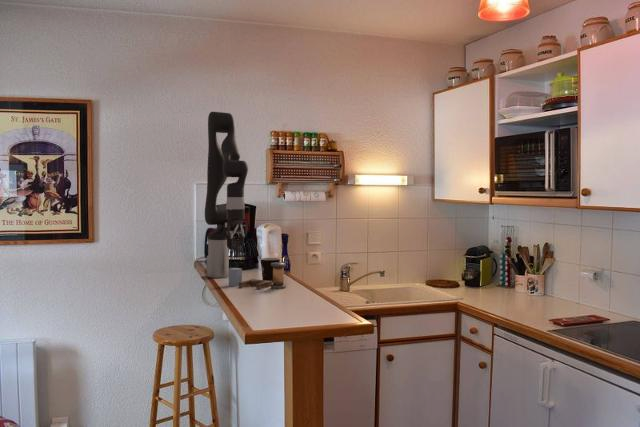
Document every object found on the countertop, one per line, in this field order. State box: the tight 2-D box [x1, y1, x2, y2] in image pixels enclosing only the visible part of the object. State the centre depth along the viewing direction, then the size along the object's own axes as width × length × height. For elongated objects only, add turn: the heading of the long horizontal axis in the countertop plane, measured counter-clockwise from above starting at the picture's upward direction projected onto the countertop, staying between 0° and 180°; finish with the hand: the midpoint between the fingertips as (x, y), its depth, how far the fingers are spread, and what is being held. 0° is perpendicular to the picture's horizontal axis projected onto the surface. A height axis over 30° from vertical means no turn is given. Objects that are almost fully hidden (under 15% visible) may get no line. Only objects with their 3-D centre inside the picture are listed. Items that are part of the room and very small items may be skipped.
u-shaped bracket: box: [238, 278, 273, 290], centre depth 222 cm, size 10×10×2 cm
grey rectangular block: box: [228, 267, 243, 287], centre depth 225 cm, size 4×4×7 cm
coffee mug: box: [260, 257, 281, 284], centre depth 237 cm, size 12×9×10 cm
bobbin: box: [270, 261, 287, 290], centre depth 220 cm, size 6×6×10 cm
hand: (235, 246), depth 225 cm, fingers open, 8 cm apart
